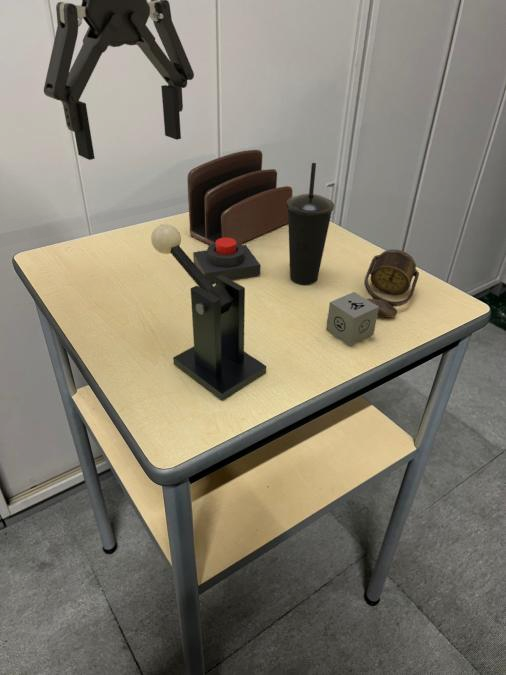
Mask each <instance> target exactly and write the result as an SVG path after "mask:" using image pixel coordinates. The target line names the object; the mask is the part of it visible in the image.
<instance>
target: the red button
mask: <svg viewBox="0 0 506 675" xmlns="http://www.w3.org/2000/svg"><path fill="white" fill-rule="evenodd" d="M216 253H218V254H222V255H230V254H234V253H236V240H234V239H232V238H220V239H218V240H216Z"/></svg>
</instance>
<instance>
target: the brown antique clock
mask: <svg viewBox="0 0 506 675" xmlns="http://www.w3.org/2000/svg"><path fill="white" fill-rule="evenodd" d="M419 276H420V272H419V271H418V270H417V263H416V260H414V258H413V256H412V255H411V254H409V253H408V252H406V251H405V250H404V251H403V250H400V249H387V250H384V251H383V252H381V253H380V254H377V255H374V256H373V258H372V259H371V262H370V264H369V266H368V269H367V271H366V274H365V277H364V283H363V284H364V287H365V290H366V292H367V293H368V295H369V296H370V298H366V299H367V300H368V301H370V302H372V303H374V304H375V305H377V306H379V309H378V314H377V317H378V316H379V317H382V318H394V317H396V316H398V310H397V308H398V307H402V306H403V305H406V304H407V303H409V301H411V299H412V297H413V295H414V292H415V289H416V285H417V283H418V280H419ZM369 278H370V281H371V284H372V285H373V287H374V288H375V289H376V290H377V291H379V292H381V293H383V294H386V295H389V296H399V295H402V294H404V293H406V292H408V290H409V288H410V290H409V294H408V296H407V298H405V299H403V300H399V301H395V300H388V299H385V298H383V297H381V296H380V295H378V294H376V293H375V291H373V289H372V288H371V285H370V283H369ZM410 286H411V287H410Z"/></svg>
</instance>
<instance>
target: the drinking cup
mask: <svg viewBox="0 0 506 675" xmlns="http://www.w3.org/2000/svg"><path fill="white" fill-rule="evenodd" d="M316 168H317V163H316V162H311V167H310V179H309V190H308V193H302V194H298V195H294V196H292V197H291V198H289V199H288V200H287V202H286V206H287V208H288V223H287V224H288V253H289V257H288V258H289V279H290V280H291V281H292V282H293V283H294V284H298V285H302V286H309V285H313V284H316V282H317V281H318V278H319V275H320V269H321V265H322V260H323V256H324V250H325V246H326V241H327V236H328V231H329V227H330V221H331V217H332V212H333V211H334V210H335V203H334V202H333V201H332V199H329V198H328V197H325V196H322V195H320V194H316V193H314V192H315V190H314V189H315V181H316V180H315V179H316V172H317V171H316V170H317V169H316Z"/></svg>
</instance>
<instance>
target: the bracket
mask: <svg viewBox="0 0 506 675" xmlns="http://www.w3.org/2000/svg"><path fill="white" fill-rule="evenodd" d="M215 280H216V283H215V286H216V285H218V284H221V285H222V286H223V287H224V288H225V289H226V291H227V292H228V293H229V294H230V295H231V296H232V297H233V299H234V301H233V303H232V305H231V307H230V309H229V311H227V312H225V313H223V314H221V306H220V299H219V298H217V297H215V296H213V295H212V294H210V293H208V292H207V291H205V290H203V289H202V288H200V287H199V286H198V285H194V286H192V287H190V300H191V301H190V302H191V319H192V320H191V321H192V336H193V337H192V338H193V346H192V347H190V348H188V349H186V350H184V351H182V352H180V353H178V354H177V355H175V356H173V357H172V359H173V360H172V361H173V365H174V366H176V368H178V369H179V370H180V371H182V372H184V373H185V374H186V375H187V376H189V377H190V378H191V379H193V380H194V381H195V382H197V383H198V384H199V385H201V387H203V388H204V389H206V390H207V391H208V392H210V393H211V394H212V395H214V397H216V398H218V399H219V400H220V401H224V400H226V399H228V398H229V397H231V396H232V395H234V394H236V393H237V392H238V391H240V390H242V389H244V387H246V386H248V385H249V384H251V383H253V382H254V381H256V380H257V379H259V378H261V377H262V376H263V375H265V374H266V373H267V365H266V364H264V363H263V362H262V361H260V360H258V359H256V358H255V357H253V356H252V355H250V354H248V353H247V352H246V351H245V316H246V314H245V312H246V309H245V308H246V307H245V306H246V304H245V303H246V287H244V286H242V285H241V284H239V283H237V282H236V281H235V280H230V279H228V278H227V277H225V276H223V275H219V276H217V277H215Z"/></svg>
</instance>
